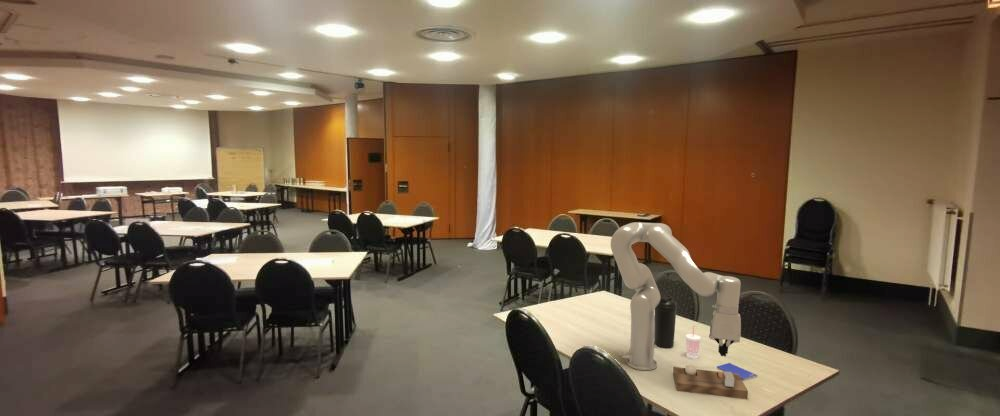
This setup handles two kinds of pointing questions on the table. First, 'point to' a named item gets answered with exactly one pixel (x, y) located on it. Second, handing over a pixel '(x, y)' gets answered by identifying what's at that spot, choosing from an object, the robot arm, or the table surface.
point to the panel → (708, 383)
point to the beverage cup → (692, 345)
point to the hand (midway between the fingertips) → (722, 354)
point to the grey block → (728, 379)
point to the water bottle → (665, 322)
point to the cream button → (690, 370)
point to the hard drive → (737, 371)
